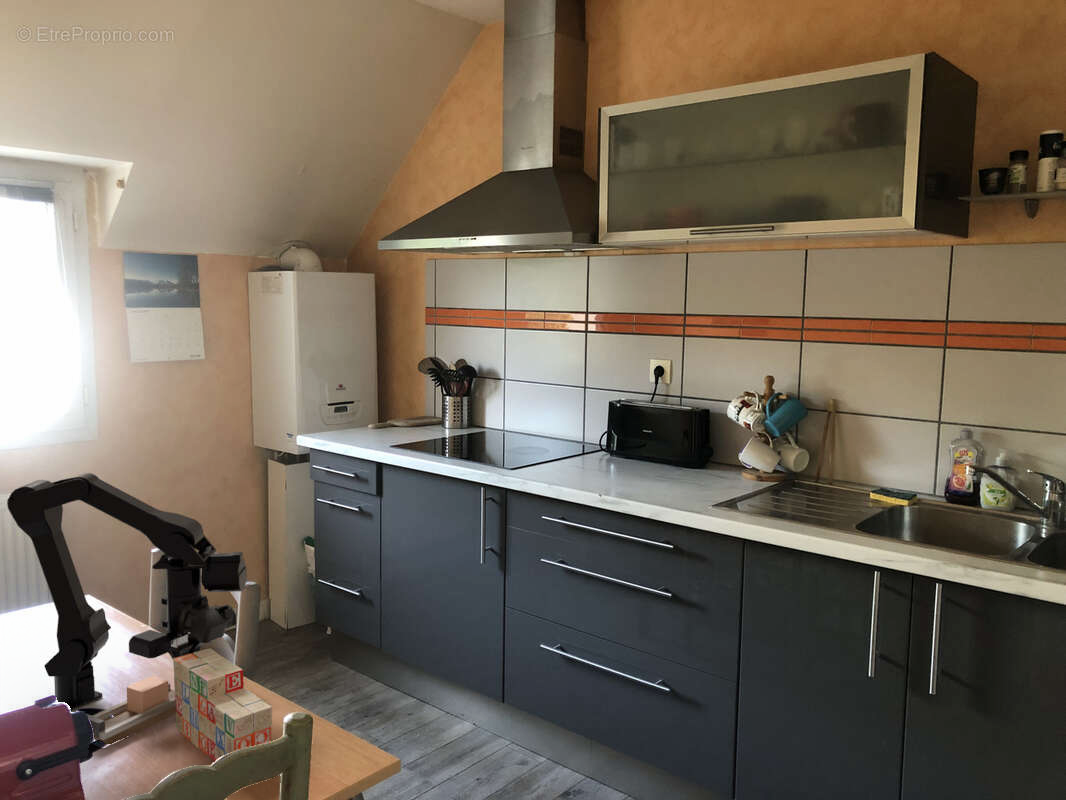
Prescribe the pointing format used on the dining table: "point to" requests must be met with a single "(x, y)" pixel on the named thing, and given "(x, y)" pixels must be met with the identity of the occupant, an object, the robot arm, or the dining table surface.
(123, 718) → the track
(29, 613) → the dining table surface
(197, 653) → the stack of blocks
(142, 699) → the block
